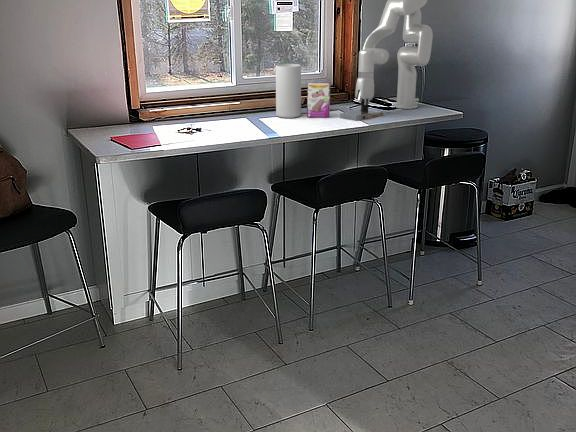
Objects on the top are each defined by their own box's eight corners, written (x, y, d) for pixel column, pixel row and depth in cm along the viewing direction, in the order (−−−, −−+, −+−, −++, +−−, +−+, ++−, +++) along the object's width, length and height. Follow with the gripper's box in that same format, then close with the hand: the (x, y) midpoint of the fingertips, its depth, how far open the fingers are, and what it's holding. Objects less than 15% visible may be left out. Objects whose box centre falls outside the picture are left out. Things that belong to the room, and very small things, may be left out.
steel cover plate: (354, 116, 321) (355, 110, 320) (370, 118, 314) (371, 112, 313) (340, 119, 313) (340, 113, 312) (356, 122, 306) (356, 115, 305)
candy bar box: (306, 117, 314) (307, 84, 309) (307, 115, 319) (307, 83, 313) (329, 118, 313) (329, 84, 308) (329, 116, 318) (330, 83, 312)
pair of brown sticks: (362, 112, 327) (362, 109, 327) (383, 115, 319) (383, 112, 318) (345, 116, 318) (345, 113, 317) (366, 119, 309) (366, 116, 309)
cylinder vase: (300, 113, 325) (300, 63, 317) (301, 118, 313) (301, 66, 305) (276, 113, 325) (275, 64, 317) (276, 118, 313) (275, 66, 305)
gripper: (369, 73, 319) (367, 109, 325) (350, 76, 309) (349, 113, 315) (381, 74, 314) (379, 111, 321) (362, 77, 304) (361, 115, 310)
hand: (364, 112), depth 318 cm, fingers closed
